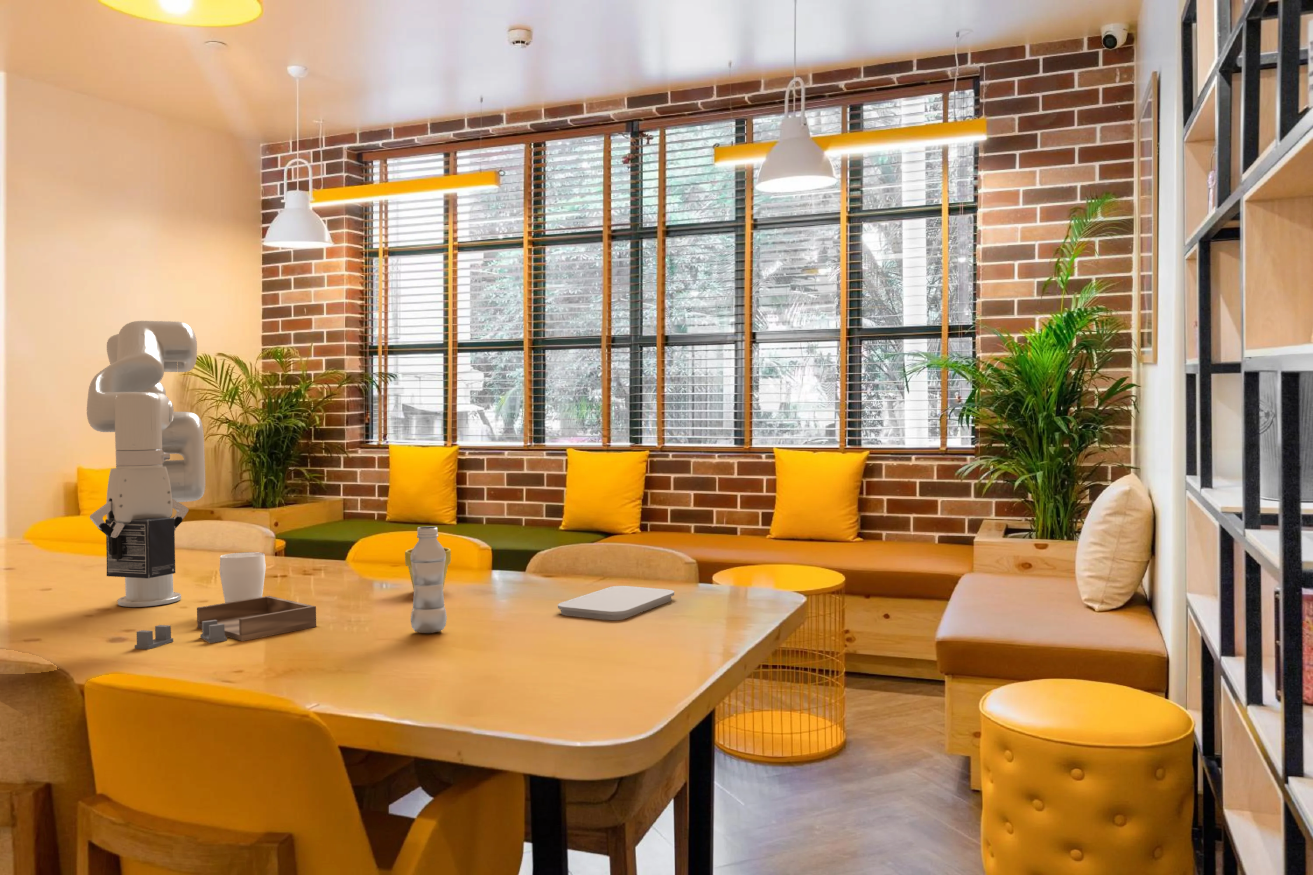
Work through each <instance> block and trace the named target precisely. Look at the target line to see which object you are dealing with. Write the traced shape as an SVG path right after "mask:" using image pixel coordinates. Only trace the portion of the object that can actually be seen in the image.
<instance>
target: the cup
mask: <svg viewBox="0 0 1313 875" xmlns="http://www.w3.org/2000/svg"><path fill="white" fill-rule="evenodd" d="M265 555H266V554H265V552H258V551H252V552H251V551H247V552H233V553H226V554H221V555H220V556H219V576H220V583H221V588H222V594H223V599H224V600H223V601H224V603H228V602H234V601H241V600H247V599H253V598H259V597H263V595H264V587H265V586H264V584H265V577H266V567H267V566H266V556H265Z"/></svg>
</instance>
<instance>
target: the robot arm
mask: <svg viewBox="0 0 1313 875" xmlns="http://www.w3.org/2000/svg"><path fill="white" fill-rule="evenodd" d="M106 354H107V358H108V361H109V365H107V366H106V367H104V368H103V369H102V370H100V371H99V372H97V373H96V375H94V376H93V378H92V380H91V382H90V385H89V386H88V393H87V400H86V418H87V421H88V424H89V426H90V427H91V428H92V429H93V430H95V431H97V432H100V433H114V436H115V437H114V441H115V442H114V444H115V468H110V471H109V476H108V481H107V482H108V483H107V488H106V490H107V491H106V503H105V504H104V505H102V506H101V507H99V508H98V509H97V510H96V511H94V512H92V514H90V515H89V519H90V520H91V521H92V522H93V524H94V525H95V526H96V527H97V528H98V530H100V531H101V532H102V533H103V534H104V535H105V536H108V537H109V554H110V555H112V559H116V560H121V559H122V538H121V537H119V533H120V532H121V530H122V529H123V527H124V525H125V524H128V523H130V522H131V520H135V519H146V518H174V528H175V531H176V529H177V528H178V527H179V526H180V525H181V523H182V522H183V520H184V518H185V517H186V515H187V514H188V512H189V508H188V507H187V506H185V505H184V504H182V503H186V502H195V501H198V500H200V499H202V498H203V496H204V495H205V492H206V460H205V459H206V456H205V435H204V427H203V421H202V420H201V417H200V416H199V415H198V414H196V413H194V412H191V411H174V409H175V408H174V405H173V402H172V400H170V398H169V397H168V396H167V393H166V389H165V387H164V385H163V383H161V381H162V379H163V377H164V375H165V373H185V372H186V373H187V372H189V371H191V370H193V369H194V367H195V366H196V362H197V356H198V342H197V337H196V333H195V332H194V330H193V328H192V327H191V326H190V325H189V324H187V323H186V322H184V321H183V322H182V321H171V320H170V321H169V320H168V321H165V320H164V321H163V320H135V321H130V322H129V323H126V324H124V325H123V326H122V327H121V328H120V331H119V332H118V333H117V334H114V335H112V336H110V337H109V338H107V342H106ZM174 454H175V455H180V456H182V458H183V459H173V460H172V459H171V455H174ZM173 509H174V510H175V511H176V513H175V515H174V516H173ZM105 516H106V519H108V520H109V521H111V522H112V523H111V525H110V526H109V525H107V524H106V523H105V521H104V519H103V518H104V517H105ZM112 519H114V520H113V521H112ZM124 582H125V584H124V585H125V587H124V589H125V595H124V596H122V597H119V598H118V599H117V605H118V606H121V607H127V608H141V607H154V606H156V607H157V606H161V605H168V604H171V603H175V602H178V601H180V600H181V599H182V594H181V593H180V592H176V591H174V574H169V575H163V576H158V577H153V578H130V577H124Z"/></svg>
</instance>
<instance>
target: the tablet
mask: <svg viewBox="0 0 1313 875" xmlns="http://www.w3.org/2000/svg"><path fill="white" fill-rule="evenodd" d="M674 596H675V590H673V589H665V588H654V587H643V586H632V585H613V586H609V587H606V588H603V589H599V590H597V591H596V590H595V591H592V592H589V593H586V594H583V595H581V596H580V595H579V596H577V597H574V598H571V599H569V600H568V599H567V600H564V601H561V602H560V603H557V609H558V610H560V612H561V613H560V614H561V615H563V616H566V617H567V616H569V617H575V618H587V619H596V620H605V621H606V620H607V621H619V620H620V621H622V620H625V618H626V619H628V618H631V617H633V616H636V615H639V614H641V613H643V611H644V612H646V611H648V610H651V609H653V608H657V607H659V606H661V605H664V604H666V603H669V602H672V597H674ZM640 612H641V613H640Z"/></svg>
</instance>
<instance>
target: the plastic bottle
mask: <svg viewBox="0 0 1313 875" xmlns="http://www.w3.org/2000/svg"><path fill="white" fill-rule="evenodd" d="M438 537H439V532H438V526H429V525H428V526H418V527H417V535H416V538H417V539H418V541H417V543H415V545H414V546H413V548H412V549H413V550H412V553H411V556H410V557H411V565H412V572H413V582H414V590H413V599H412V600H413V601H412V609H411V614H410V624H411V629H413V630H414V632H416V633H420V634H433V633H437V632H441V631H444V629H445V627H446V625H447V620H448V619H447V618H448V615H447V609H446V607H445V598H444V588H443V578H444V568H445V560H446V553H445V550H444V548H443V547H444V546H443V545H442V544H441V543H440V542H439V540H438Z"/></svg>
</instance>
